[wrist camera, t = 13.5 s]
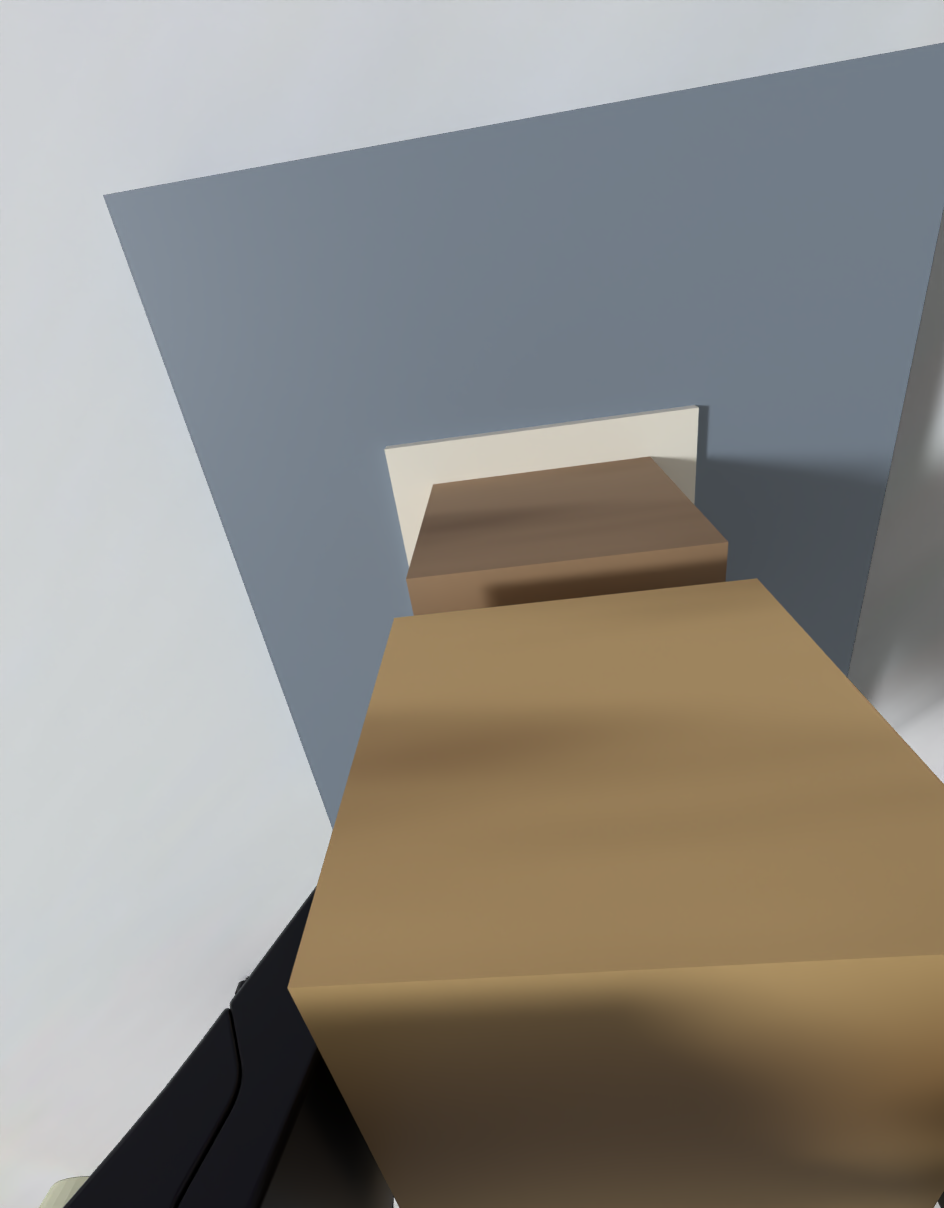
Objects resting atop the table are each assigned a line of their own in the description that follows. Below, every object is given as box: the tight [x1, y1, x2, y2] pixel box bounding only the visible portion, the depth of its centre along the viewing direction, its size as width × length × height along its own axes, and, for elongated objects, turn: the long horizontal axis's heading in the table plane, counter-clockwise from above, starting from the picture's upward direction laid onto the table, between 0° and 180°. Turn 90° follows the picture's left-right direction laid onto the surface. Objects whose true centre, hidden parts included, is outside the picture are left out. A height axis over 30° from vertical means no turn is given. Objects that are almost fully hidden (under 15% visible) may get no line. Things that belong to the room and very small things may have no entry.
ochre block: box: [288, 578, 944, 1208], centre depth 7 cm, size 5×5×5 cm
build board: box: [103, 43, 944, 828], centre depth 16 cm, size 18×16×2 cm
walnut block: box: [406, 456, 728, 616], centre depth 12 cm, size 5×5×5 cm
